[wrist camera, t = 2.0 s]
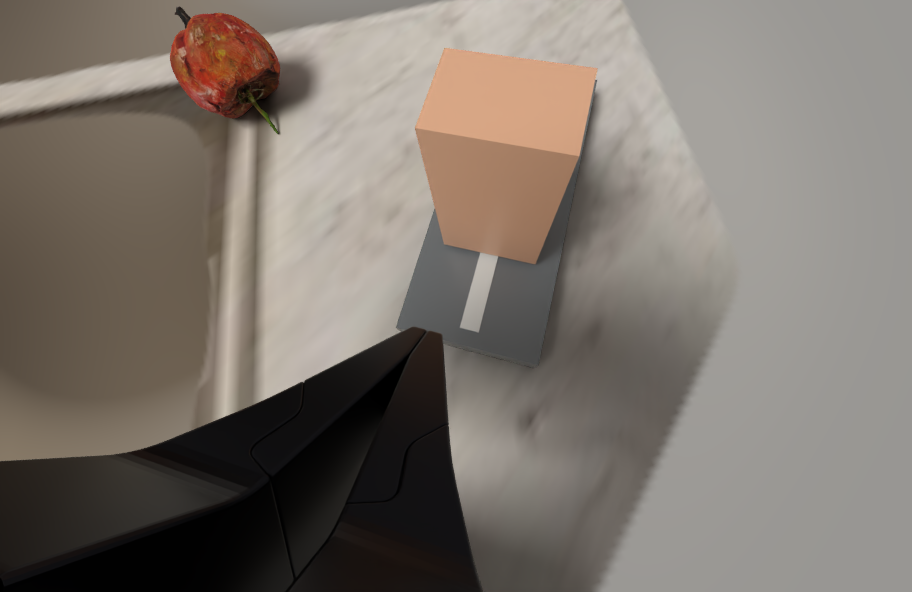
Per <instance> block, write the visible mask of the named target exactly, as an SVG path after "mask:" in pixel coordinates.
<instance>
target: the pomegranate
mask: <svg viewBox="0 0 912 592" xmlns="http://www.w3.org/2000/svg"><path fill="white" fill-rule="evenodd" d="M175 14H176V15H179V16H180V18H181V19H182V21H183V22H184V24H185V30H182V31H180V32H179V33H178V34H177V35H176V37H175V39H174V42H173V44H172V50H171V54H170V62H171V66H172V69H173V72H174V74H175V76H176V78H177V80H178V82H179V83H180V85H181V87H182V88H183V89H184V90H185V91H186V93H187V94H188V95H189V97H190V98H191V99H193V100H194V101H195V103H196V104H197V105H199V106H200V107H201V108H203V109H205V110H208V111H210V112H215V113H217V114H219V115H222V116H224V117H228V118H238V117H240V116H242V115H243V114H245V113H246V112H247V110H249V109H250V108H251V107H252V105H254V106H255V108H256V109H257V110H258V111H259V112H260V113H261V114H262V115H263V117H264V118H265V119H266V120H267V122H268V123H269V124H270V126H271V127H272V128H273V129H274V131H275V132H276V133H277V134H279V133H278V131H277V129H276V128H275V126H274V125H273V124H272V122H271V121H270V119H269V117H268V114H267V113H266V112H264V111H263V110H262V109H261V108H260V107H259V106H258V104H257V102H256V100H258V99H265V98H266V97H267V96H269V95H270V94H271V93H272V92H273V91H275V90H276V89H277V87H278V85H279V80H278V79H279V74H280V65H279V62H278V58H277V56H276V55H275V52H274V51H273V49H272V47H271V46H270V44H269V43H268V42H267V40H266V39H265V38H264V37H263V36H262V35H261V34H260V33H259V32H257V31H256V30H255V29H254V28H253V27H251V26H250V25H249V24H247V23H246V22H244V21H242V20H240V19H238V18H236V17H234V16H232V15H228V14H223V13H214V14H200V15H195V16H194V17H192V18H190V17H189V16H188V15H187V14H186V13H185V11H184V10H183V9H182V8H181V7H177V8H176V13H175Z"/></svg>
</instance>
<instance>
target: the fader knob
mask: <svg viewBox="0 0 912 592" xmlns="http://www.w3.org/2000/svg"><path fill="white" fill-rule="evenodd" d="M597 69H598V68H591V67H584V66H576V65H569V64H561V63H554V62H546V61H539V60H531V59H524V58H516V57H509V56H502V55H494V54H487V53H479V52H472V51H464V50H457V49H449V48H444V50H443V53H442V56H441V59H440V61H439V64H438V67H437V69H436V72H435V75H434V78H433V80H432V83H431V86H430V88H429V91H428V94H427V97H426V99H425V102H424V105H423V107H422V110H421V113H420V116H419V118H418V121H417V124H416V126H415V130H416V134H417V138H418V142H419V146H420V150H421V154H422V158H423V162H424V166H425V170H426V174H427V178H428V182H429V186H430V190H431V194H432V198H433V202H434V206H435V210H436V214H437V218H438V222H439V226H440V230H441V234H442V238H443V242H444V244H445V245H450V246H454V247H459V248H463V249H468V250H472V251H477V252H481V253H486V254H490V255H495V256H499V257H504V258H508V259H513V260H517V261H522V262H526V263H531V264H536V261H537V259H538V257H539V254H540V252H541V249H542V247H543V244H544V242H545V239H546V237H547V234H548V232H549V230H550V227H551V225H552V222H553V220H554V217H555V215H556V212H557V210H558V207H559V205H560V202H561V200H562V198H563V195H564V193H565V190H566V188H567V185H568V183H569V180H570V178H571V175H572V173H573V171H574V168H575V166H576V163H577V161H578V158H579V155H580V151H581V146H582V141H583V136H584V131H585V126H586V122H587V117H588V112H589V107H590V102H591V98H592V93H593V88H594V83H595V78H596V73H597Z"/></svg>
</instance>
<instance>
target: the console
mask: <svg viewBox="0 0 912 592" xmlns="http://www.w3.org/2000/svg"><path fill="white" fill-rule="evenodd" d="M596 83H597V80H595V83H594V88H593V93H592V98H591V102H590V107H589V112H588V117H587V122H586V126H585V131H584V136H583V141H582V146H581V151H580V155H579V158H578V161H577V163H576V166H575V168H574V171H573V173H572V175H571V178H570V180H569V183H568V185H567V188H566V190H565V193H564V195H563V198H562V200H561V202H560V205H559V207H558V210H557V212H556V215H555V217H554V220H553V222H552V225H551V227H550V230H549V232H548V234H547V237H546V239H545V242H544V244H543V247H542V249H541V252H540V254H539V257H538V259H537V261H536V264H531V263H526V262H522V261H517V260H513V259H508V258H504V257H499V256H495V255H490V254H486V253H481V252H477V251H472V250H468V249H463V248H459V247H454V246H450V245H445V244H444V242H443V238H442V234H441V230H440V226H439V222H438V218H437V214H436V210H435V209H434V212H433V215H432V218H431V221H430V224H429V228H428V231H427V234H426V237H425V240H424V243H423V246H422V249H421V252H420V255H419V258H418V261H417V264H416V268H415V271H414V274H413V277H412V280H411V283H410V286H409V289H408V292H407V295H406V298H405V301H404V304H403V308H402V311H401V314H400V317H399V320H398V323H397V326H396V328H397V329H398V330H400V331H401V332H402V331H404V330H406V329H408V328H410V327H412V326H415V327H419V328H423V329H426V330H427V331H429V330H430V331H434V332H438V333H441V334H442V335H443V344H446V345H449V346H453V347H457V348H461V349H464V350H468V351H472V352H476V353H479V354H483V355H487V356H491V357H495V358H498V359H502V360H506V361H510V362H513V363H517V364H521V365H525V366H528V367H532V368H534V367H536V366H538V365H539V360H540V356H541V351H542V346H543V341H544V336H545V331H546V326H547V321H548V317H549V312H550V307H551V302H552V297H553V292H554V287H555V282H556V278H557V273H558V268H559V263H560V258H561V253H562V248H563V244H564V239H565V234H566V229H567V224H568V219H569V214H570V209H571V205H572V200H573V195H574V190H575V185H576V180H577V175H578V171H579V166H580V161H581V156H582V151H583V146H584V141H585V136H586V132H587V127H588V122H589V117H590V112H591V107H592V102H593V98H594V93H595V88H596Z"/></svg>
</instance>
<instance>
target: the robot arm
mask: <svg viewBox="0 0 912 592" xmlns="http://www.w3.org/2000/svg"><path fill="white" fill-rule="evenodd" d="M448 425H449V423H448V408H447V394H446V379H445V364H444V349H443V335H442V334H441V333H438V332H434V331H430V330H429V331H427V330H426V329H423V328H419V327H415V326H412V327H410V328H408V329H406V330H404V331H402V332H400V333H398V334H396V335H394V336H392V337H390V338H388V339H386V340H384V341H382V342H380V343H378V344H376V345H374V346H372V347H370V348H368V349H366V350H364V351H362V352H360V353H358V354H356V355H354V356H352V357H350V358H348V359H346V360H344V361H342V362H340V363H338V364H336V365H334V366H332V367H330V368H328V369H326V370H324V371H322V372H320V373H318V374H316V375H314V376H312V377H311V378H309V379H307V380H305V381H304V382H300V383H298V384H296V385H294V386H292V387H290V388H288V389H286V390H284V391H282V392H280V393H278V394H276V395H274V396H272V397H270V398H267V399H265V400H263V401H261V402H259V403H256V404H254V405H252V406H249V407H247V408H245V409H242V410H240V411H238V412H235V413H233V414H230V415H228V416H226V417H223V418H221V419H218V420H216V421H213V422H211V423H208V424H206V425H204V426H201V427H199V428H196V429H194V430H191V431H189V432H186V433H184V434H182V435H179V436H177V437H175V438H172V439H170V440H167V441H164V442H162V443H159V444H156V445H153V446H150V447H147V448H144V449H141V450H137V451H132V452H127V453H121V454H114V455H103V456H87V457H86V456H85V457H68V458H50V459H32V460H16V461H15V460H14V461H0V592H483V589H482V586H481V583H480V580H479V577H478V574H477V571H476V567H475V563H474V560H473V556H472V552H471V548H470V543H469V539H468V534H467V530H466V526H465V521H464V517H463V512H462V508H461V503H460V499H459V494H458V490H457V485H456V480H455V474H454V469H453V463H452V456H451V447H450V436H449V426H448Z"/></svg>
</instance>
